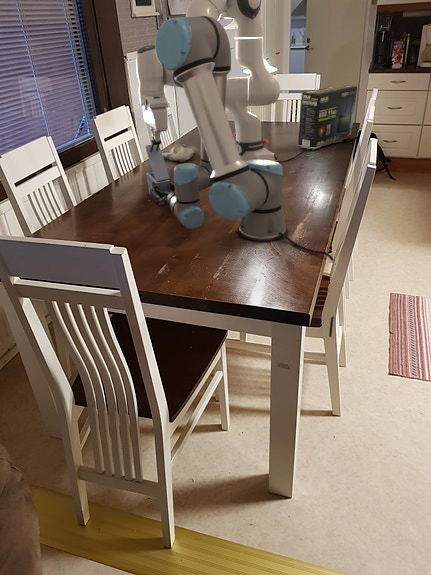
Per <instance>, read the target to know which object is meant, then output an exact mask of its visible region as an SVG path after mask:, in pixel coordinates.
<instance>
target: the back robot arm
mask: <svg viewBox="0 0 431 575" xmlns="http://www.w3.org/2000/svg"><path fill="white" fill-rule="evenodd" d="M261 5H262V0H191V1H190V2H189V4H188V6H187V9H186V11H185V17H200V16H209V17H212V18H214V19H216V20H217V21H218V22H219V20H220V19H221V20H223V19H233V20H234V60H235V62H236V64H238V65H239V66H240V67H242V68H244V69H246V70H248V71H249V73H250V76H244V77H242V76H241V77H229V78H227V85H226V110H228V111H229V112H230V114H231V115H232V118H233V121H234V129H235V130H234V132H235V134H236V139H234V140H235V143H236V146H237V149H238V152H239V155H240V158H241V160H242V161H244V162H246V161H249V160H270V161H275V162H278V163H280V164H281V163H285V162H286V163H287V162H288V161H292V160H293V159H296V158H298V156H300V155H302V154H304V153H305V152H307V151H310V149H308V150H307V149H303V150H304V151H303V150H301V151H300V152H301V153H300V152H298V153H299V154H298V153H296V156H295V155H294V156H295V157H294V156H292V157H289V158H287V159H285V160H278V157H277V156H276V153H273V152H271V151H270V150H268V149H267V148H266V147H265V145H268V144H269V140H268V139H267V138H263V139H262V121H261V119H260V117H258V116H257V115H255V114H253V113H251V112H249V110H248V109H247V107H255V106H256V107H258V106H259V107H261V106H264V107H265V106H268V105H273V104H275V103H277V101H278V100H279V98H280V94H281V86H280V83H279V81H278V80H277V78H275V77H274V76H273V75H272V74H271V72H270V71H269V70H268V69H267V65H266V63H265V60H264V45H263V44H264V42H263V41H264V38H263V37H264V31H263V30H264V29H263V18H262V13H261V11H260V9H261ZM135 67H136V78H137V80H138V96H139V105H140V106H141V107H142V117H143V118H142V119H143V123H145V125H147V126H148V127H149V129H150V132H151V138H152V140H155V141H156V142H157V141H160V139H161V133H162V132H167V131H168V125H169V124H168V109H167V108H168V107H169V101H168V99H167V97H166V89H165V86H167V87H168V86H169V87H174V88H175V87H176V88H180V89H181V88H182V89H184V88H183V85H182V84H180V83H179V82H177V81H175V79H174V76H173V74H172V71H171V70H168V69H166V68H165V67H164V66H162V65H161V64H160V62H159V61H158V58H157V55H156V51H155V44H151V45H145V46H141V47H140V48H139V49H137V51H136V57H135ZM355 139H358V136H357V137H356V138H355ZM264 144H265V145H264ZM276 160H278V161H276Z"/></svg>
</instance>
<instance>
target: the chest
mask: <svg viewBox="0 0 431 575" xmlns="http://www.w3.org/2000/svg"><path fill="white" fill-rule="evenodd" d="M169 180H170V179H169ZM169 180H165V181H160V182H156V180H155V177H154V174H153V171H151V172H146V181H147V188H148V194H149V195H150V189H152V182H154V183H155V184H156V185H157V186H158V187H159V189H160V190H162V191H164V192H166V191H167V192H169V193H171V192H172V191H171V188H170V181H171V180H170V181H169ZM158 205H159V206H163V205H165V204H164V203H163V202H161V203H159V204H158Z"/></svg>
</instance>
